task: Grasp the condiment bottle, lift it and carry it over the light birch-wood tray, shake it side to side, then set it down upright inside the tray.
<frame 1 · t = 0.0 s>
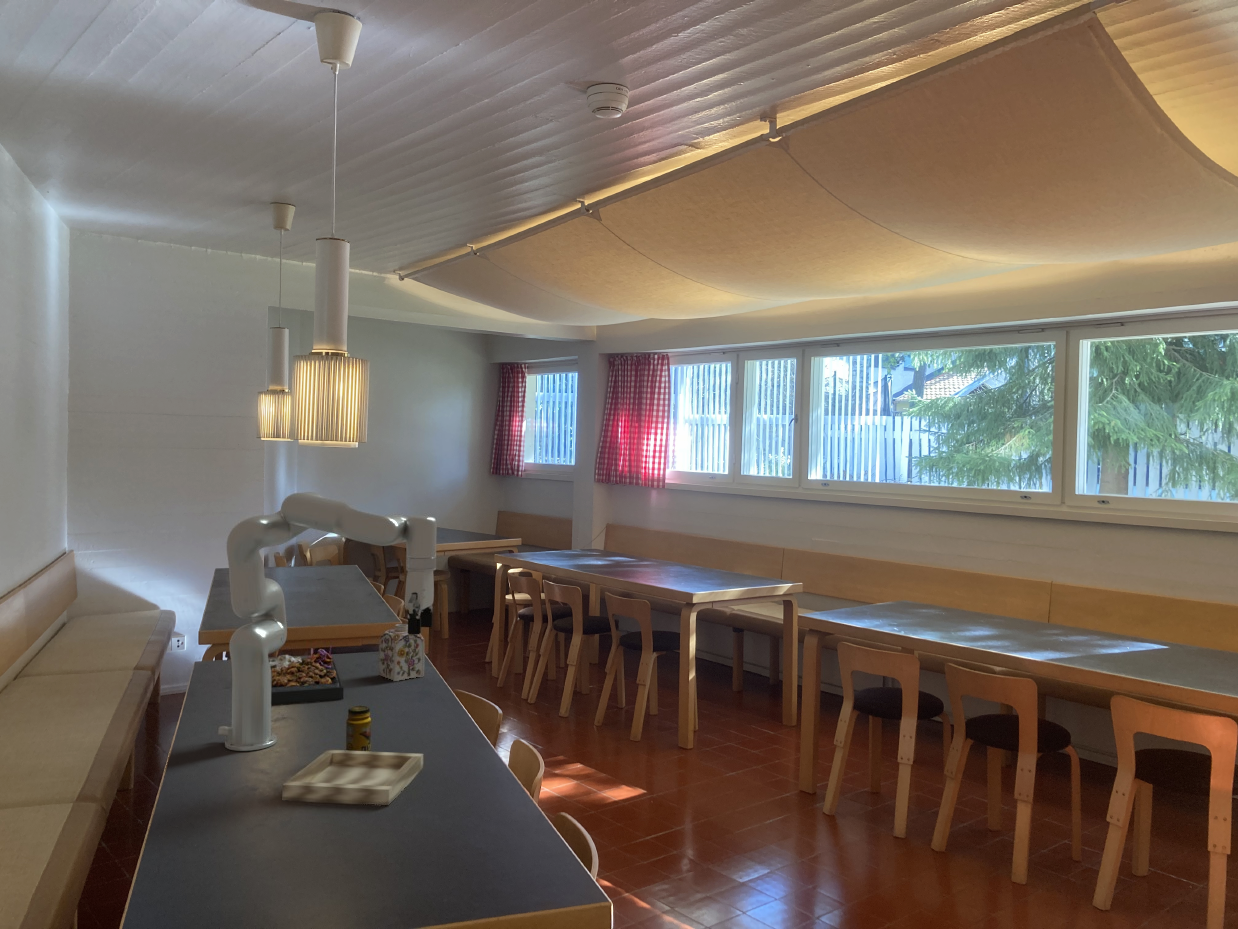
hand: (420, 630, 228), 31 cm above the table, tool pointing down, fingers open, 9 cm apart
food platter: (298, 688, 294), on the table
condiment: (354, 756, 225), on the table
tray: (356, 783, 205), on the table
decorative jar: (401, 677, 308), on the table
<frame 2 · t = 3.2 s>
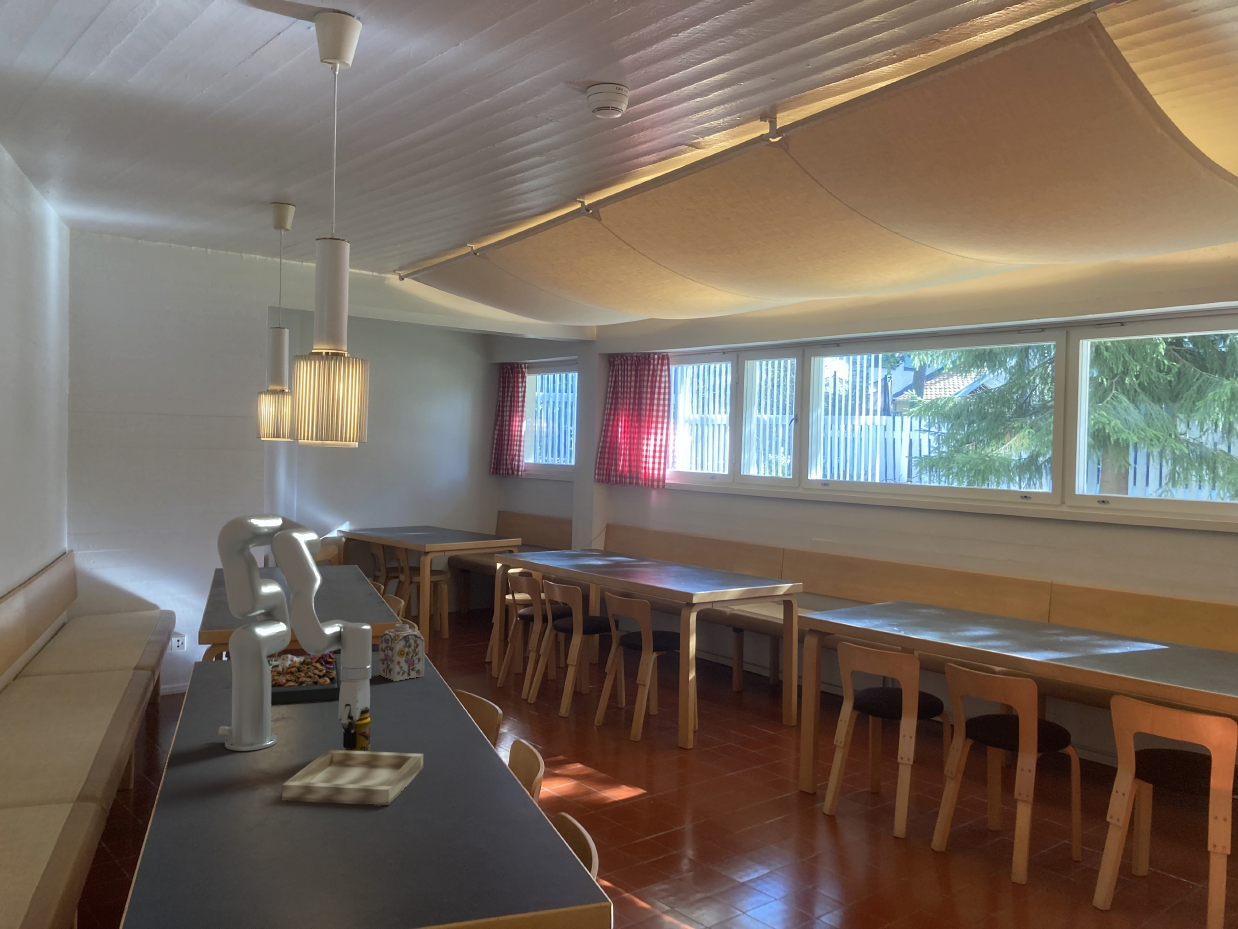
hand: (355, 742, 225), 3 cm above the table, tool pointing down, fingers closed on condiment, 6 cm apart
condiment: (354, 756, 224), on the table, touching gripper
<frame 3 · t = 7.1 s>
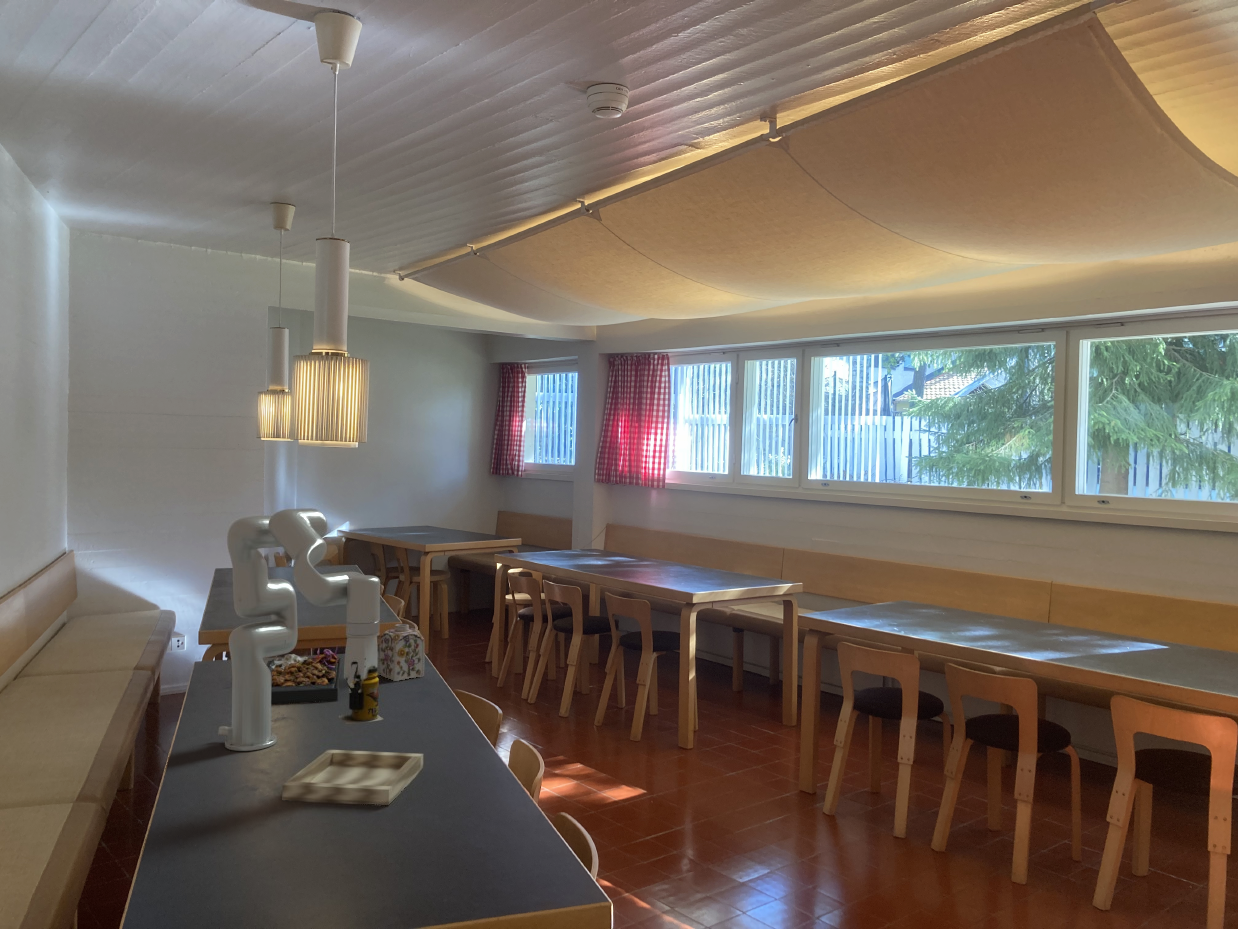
hand: (361, 704, 208), 18 cm above the table, tool pointing down, fingers closed on condiment, 6 cm apart
condiment: (360, 719, 208), point 14 cm above the table, touching gripper
when the fingers open (5 cm above the table, at t = 11.0 s): condiment drops 1 cm, resting on tray.
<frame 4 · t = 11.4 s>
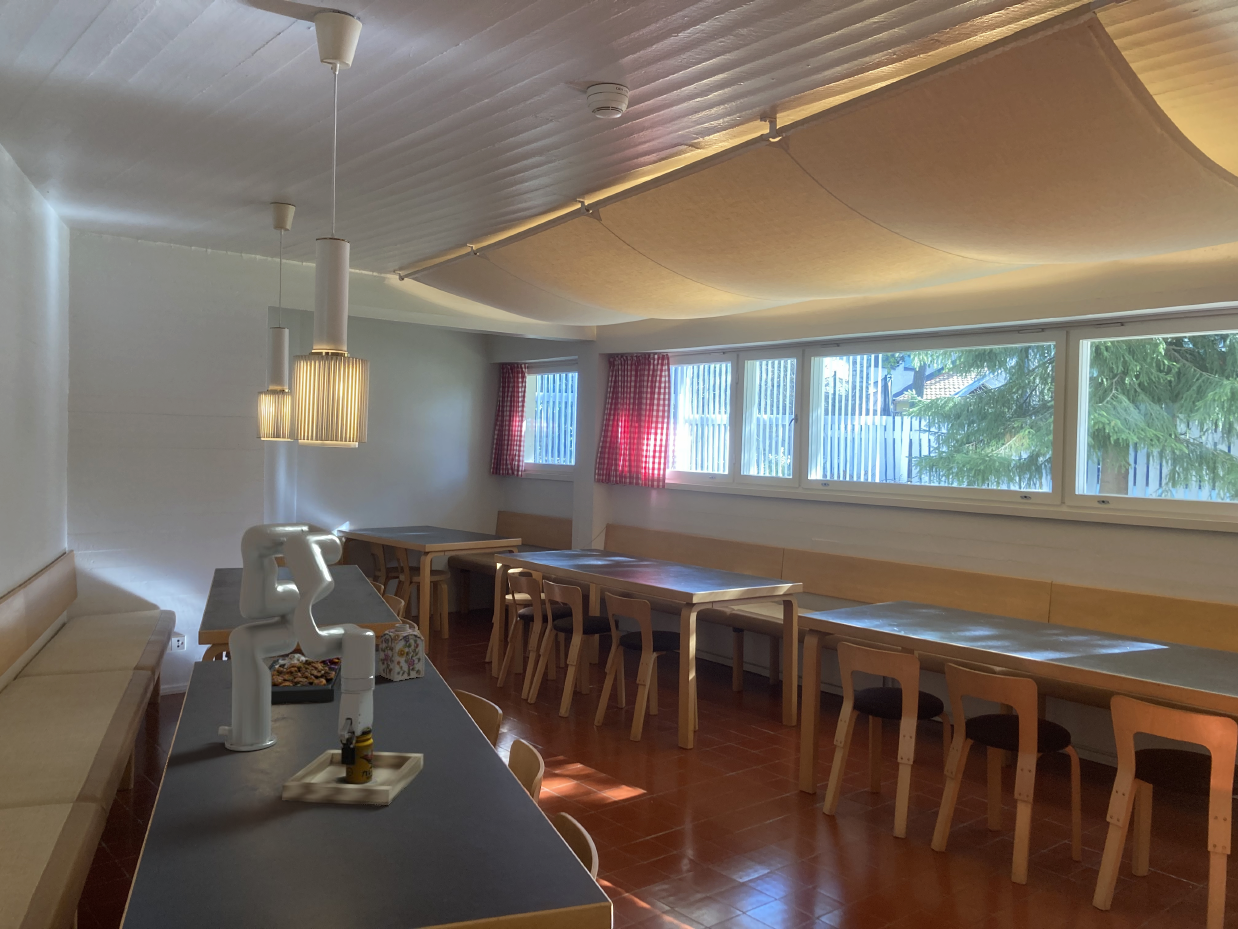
hand: (356, 757, 205), 6 cm above the table, tool pointing down, fingers open, 9 cm apart
condiment: (355, 781, 205), point 1 cm above the table, touching tray
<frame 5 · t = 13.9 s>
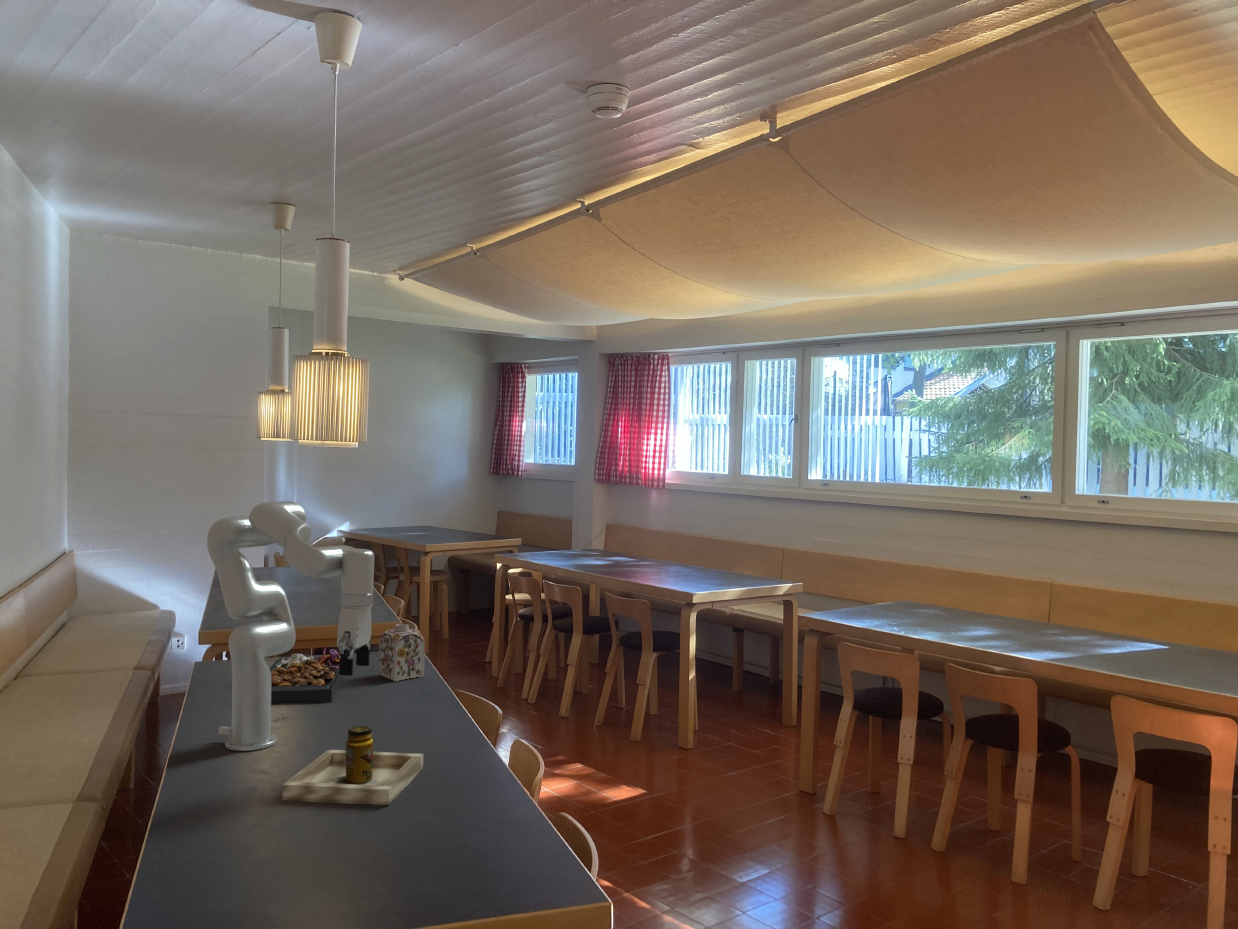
hand: (354, 670, 216), 24 cm above the table, tool pointing down, fingers open, 9 cm apart
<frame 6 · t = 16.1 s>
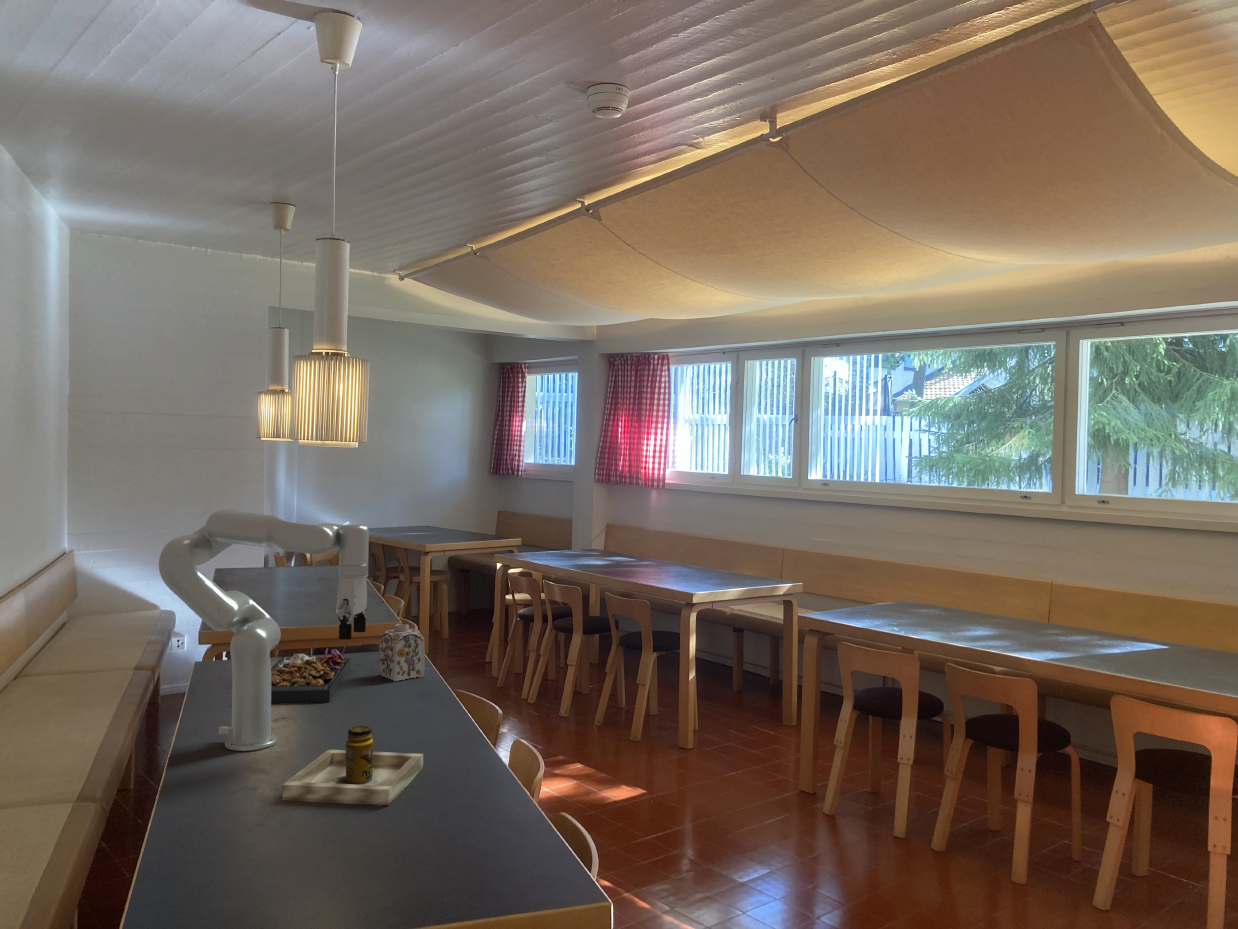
hand: (352, 635, 235), 28 cm above the table, tool pointing down, fingers open, 9 cm apart
at the end: condiment inside the target area on the tray (0.5 cm from its centre), point 0.6 cm above the tray's base; condiment tilted 0°; the gripper is holding nothing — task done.
